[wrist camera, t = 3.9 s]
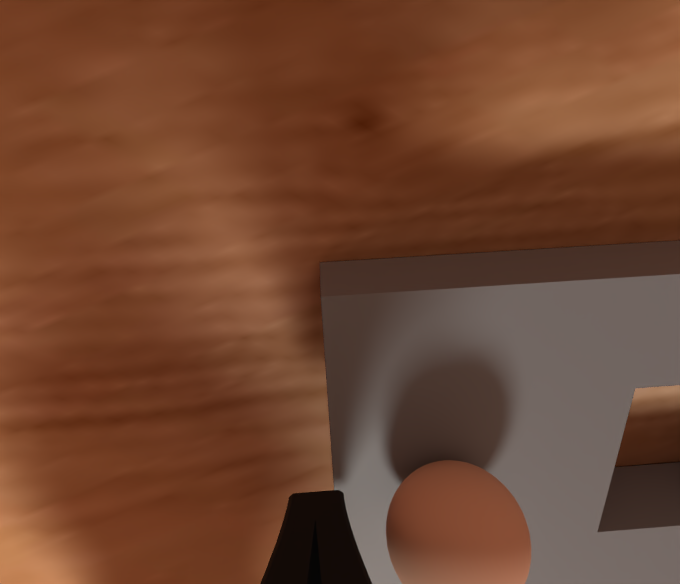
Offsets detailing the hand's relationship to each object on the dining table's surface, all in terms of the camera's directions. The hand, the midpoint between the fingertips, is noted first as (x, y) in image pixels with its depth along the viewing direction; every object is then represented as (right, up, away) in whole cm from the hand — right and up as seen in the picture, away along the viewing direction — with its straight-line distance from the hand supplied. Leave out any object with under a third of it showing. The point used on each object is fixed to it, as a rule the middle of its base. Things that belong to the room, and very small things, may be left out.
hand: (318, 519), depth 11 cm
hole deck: (+8, +2, +4) cm, 9 cm away
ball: (+3, 0, -1) cm, 3 cm away
